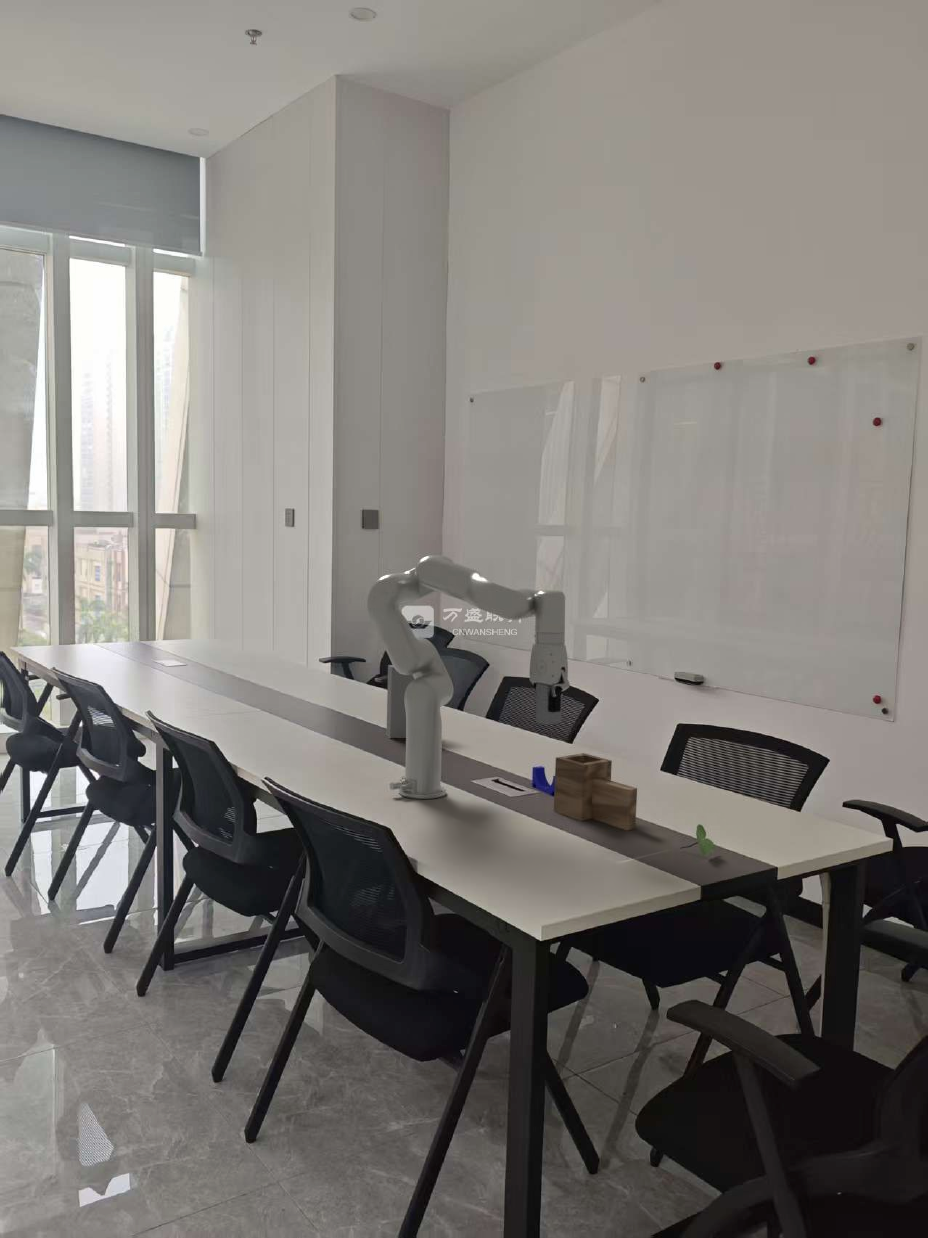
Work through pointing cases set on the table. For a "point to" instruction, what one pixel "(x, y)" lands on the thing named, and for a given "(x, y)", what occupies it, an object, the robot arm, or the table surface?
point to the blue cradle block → (542, 781)
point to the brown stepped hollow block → (593, 792)
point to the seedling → (703, 841)
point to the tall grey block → (396, 703)
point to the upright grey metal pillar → (545, 705)
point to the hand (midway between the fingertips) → (548, 709)
